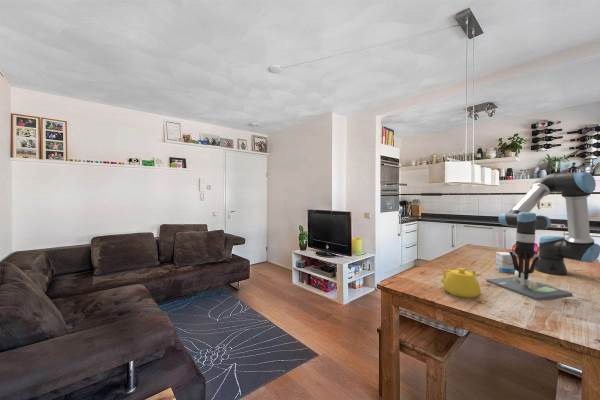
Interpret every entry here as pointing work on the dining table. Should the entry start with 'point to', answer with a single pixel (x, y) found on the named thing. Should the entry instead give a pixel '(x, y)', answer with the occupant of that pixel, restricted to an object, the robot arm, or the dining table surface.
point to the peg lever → (529, 282)
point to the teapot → (461, 283)
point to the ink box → (504, 262)
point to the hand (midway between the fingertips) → (522, 284)
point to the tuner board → (529, 289)
